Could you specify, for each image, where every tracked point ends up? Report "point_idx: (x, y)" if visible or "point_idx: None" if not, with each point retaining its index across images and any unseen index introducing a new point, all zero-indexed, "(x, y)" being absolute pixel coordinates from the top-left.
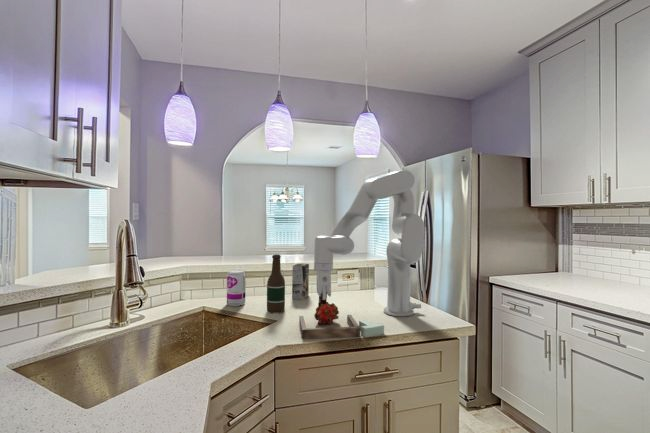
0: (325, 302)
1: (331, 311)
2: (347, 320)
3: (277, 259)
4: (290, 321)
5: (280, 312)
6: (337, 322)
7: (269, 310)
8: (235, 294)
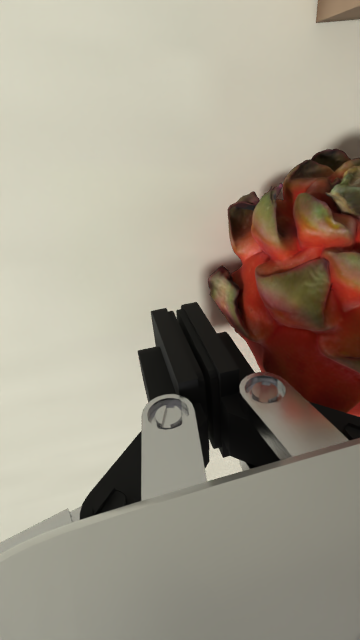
0: (282, 391)
1: None
2: (355, 13)
3: None
4: (231, 473)
5: None
6: (294, 155)
7: None
8: None
